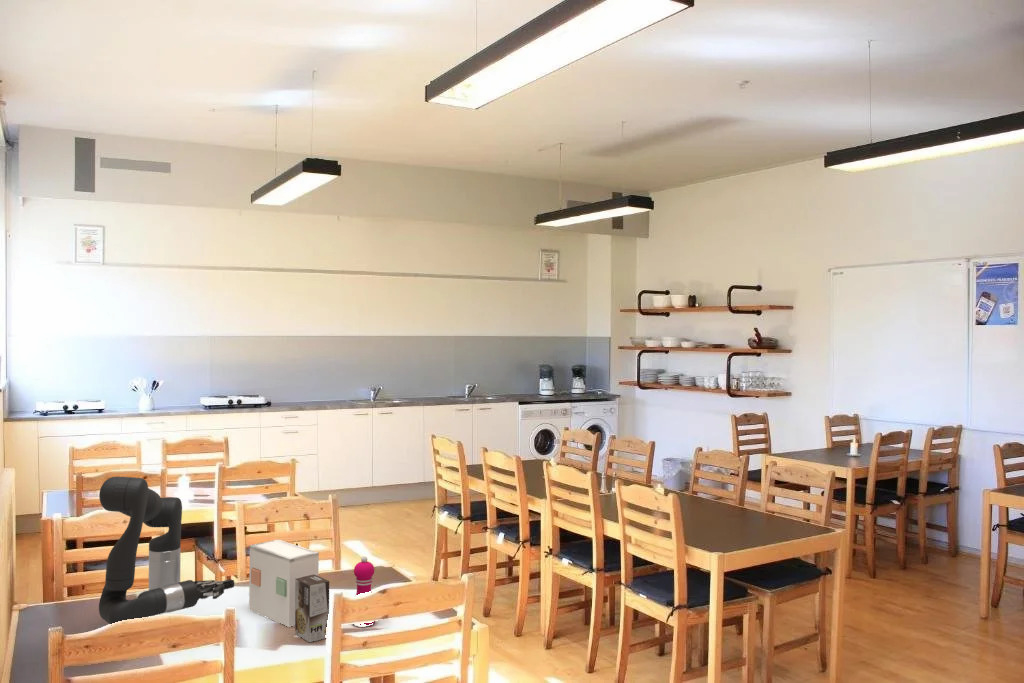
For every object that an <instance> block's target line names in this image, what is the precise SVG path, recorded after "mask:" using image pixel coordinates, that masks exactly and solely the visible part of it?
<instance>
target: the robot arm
mask: <svg viewBox="0 0 1024 683" xmlns="http://www.w3.org/2000/svg"><path fill="white" fill-rule="evenodd" d="M98 494H99V497H98V498H99V503H100V505H101V507H102V508H103V509H104V510H105V511H108V512H113V513H114V512H115V513H117V512H118V513H121V514H123V515H124V516H127V517H130V518H129V522H128V525H127V527H126V529H125V530H124V532H123V533H122V535H121V536H120V538H119V539H118V540H117V541H116V543H115V544H114V545H113V546H112V548H111V550H110V552H109V554H108V556H107V559H106V560H107V561H106V566H105V568H106V569H105V580H104V581H105V583H104V586H103V589H102V590H101V595H100V599H99V602H98V613H99V615H100V618H101V619H102V620H103V621H105V622H106V623H107V624H108V625H110V624H112V623H115V622H118V621H122V620H127V619H134V618H142V617H147V618H148V617H149V616H150V617H154V616H157V615H161V614H166V613H173V612H177V611H180V610H184V609H189V608H193V607H195V606H196V605H197V603H198V601H199V600H205V599H208V598H209V597H212V599H213V600H216V599H218V598H219V597H220V596H222V595H223V594H224V593H225V590H229V589H232V588H234V587H235V580H233V579H226V580H222V581H221V580H217V581H216V580H214V579H213V580H212V579H211V580H195V581H194V580H192V579H188V580H183V581H181V538H182V518H183V504H182V500H181V499H180V497H176V496H175V497H174V496H173V497H172V496H171V497H168V496H167V497H161V496H160V494H159V493H157V492H156V490H153V489H151V488H149V485H148V482H147V480H146V479H145V478H143V477H142V478H141V477H132V476H112V477H109V478H107V479H106V480H105V481H104V482H103V483H102V484H101V487H100V489H99V492H98ZM143 524H144V525H145V526H147V527H149V528H168V531H166V532H165V533H164V534H161V535H159V536H156V537H154V538H152V539H150V540H149V543H148V590H144V591H143V592H140V593H139V594H138V596H137V597H136V598H133V599H129V600H128V599H127V592H128V591H129V589H131V588H132V587H133V586H134V582H135V574H136V572H135V571H136V561H137V560H136V559H137V553H138V552H137V551H138V547H139V542H140V537H141V534H142V529H143Z"/></svg>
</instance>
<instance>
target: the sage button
mask: <svg viewBox="0 0 1024 683" xmlns="http://www.w3.org/2000/svg"><path fill="white" fill-rule="evenodd" d="M276 594H279V595H281V596H284V597H285V596H286V594H287V581H286V580H284V579H281V578H276Z"/></svg>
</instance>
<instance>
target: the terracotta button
mask: <svg viewBox="0 0 1024 683" xmlns="http://www.w3.org/2000/svg"><path fill="white" fill-rule="evenodd" d="M251 583H252V584H254V585H257V586H261V571H260V570H258V569H255V568H253V569H251Z"/></svg>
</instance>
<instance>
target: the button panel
mask: <svg viewBox="0 0 1024 683" xmlns="http://www.w3.org/2000/svg"><path fill="white" fill-rule="evenodd" d="M319 559H320V558H319V552H318V551H315V550H311V549H308V548H306V547H302V546H299V545H296V544H294V543H291V542H287V541H284V540H281V539H274V540H269V541H264V542H260V543H255V544H250V545H249V577H248V578H249V580H248V583H249V584H248V585H249V586H248V587H249V593H248V596H249V598H248V599H249V602H248V607H249V609H250V610H249V609H248V610H249V611H251V610H252V611H251V612H253V611H254V612H253V613H255V612H256V614H258V613H259V614H258V615H260V614H261V615H260V616H262V615H263V616H262V617H264V616H266V617H268V618H267V619H269V618H270V619H269V620H271V619H272V620H271V621H273V620H274V621H273V622H275V621H276V622H275V623H278V622H279V623H278V624H280V623H281V624H280V625H282V624H284V625H285V627H286V626H287V627H286V628H289V627H290V628H292V627H291V626H293V627H295V579H296V578H301V577H305V576H309V575H314V574H315V575H317V576H319ZM253 568H255V569H258V570H260V571H261V586H257V585H254V584H252V583H251V569H253ZM276 578H281V579H284V580H286V581H287V594H286V596H285V597H284V596H281V595H279V594H276ZM266 617H265V618H266ZM284 625H283V626H284Z"/></svg>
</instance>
